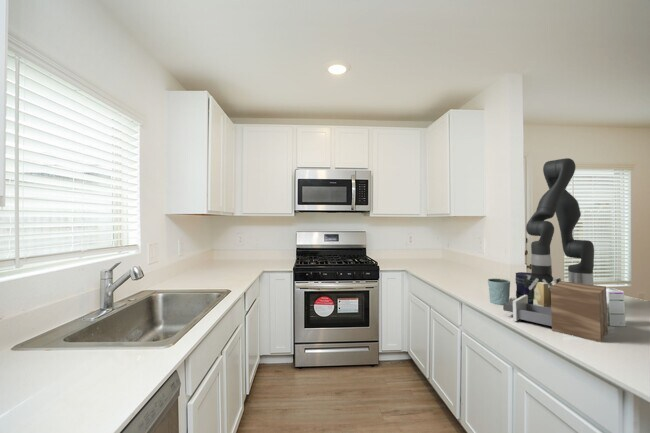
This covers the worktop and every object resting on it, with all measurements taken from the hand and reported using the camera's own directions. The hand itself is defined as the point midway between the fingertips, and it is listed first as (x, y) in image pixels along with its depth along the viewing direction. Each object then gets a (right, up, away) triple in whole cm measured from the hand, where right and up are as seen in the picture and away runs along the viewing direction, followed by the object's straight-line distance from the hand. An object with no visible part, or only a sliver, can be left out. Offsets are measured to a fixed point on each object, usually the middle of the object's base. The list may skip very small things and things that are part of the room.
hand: (542, 299), depth 131 cm
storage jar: (+6, -7, +19) cm, 21 cm away
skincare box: (0, -4, 0) cm, 4 cm away
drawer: (-11, -7, -7) cm, 15 cm away
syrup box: (+19, -7, -13) cm, 24 cm away
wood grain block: (-1, -7, -20) cm, 21 cm away
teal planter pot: (-9, -8, +19) cm, 22 cm away
